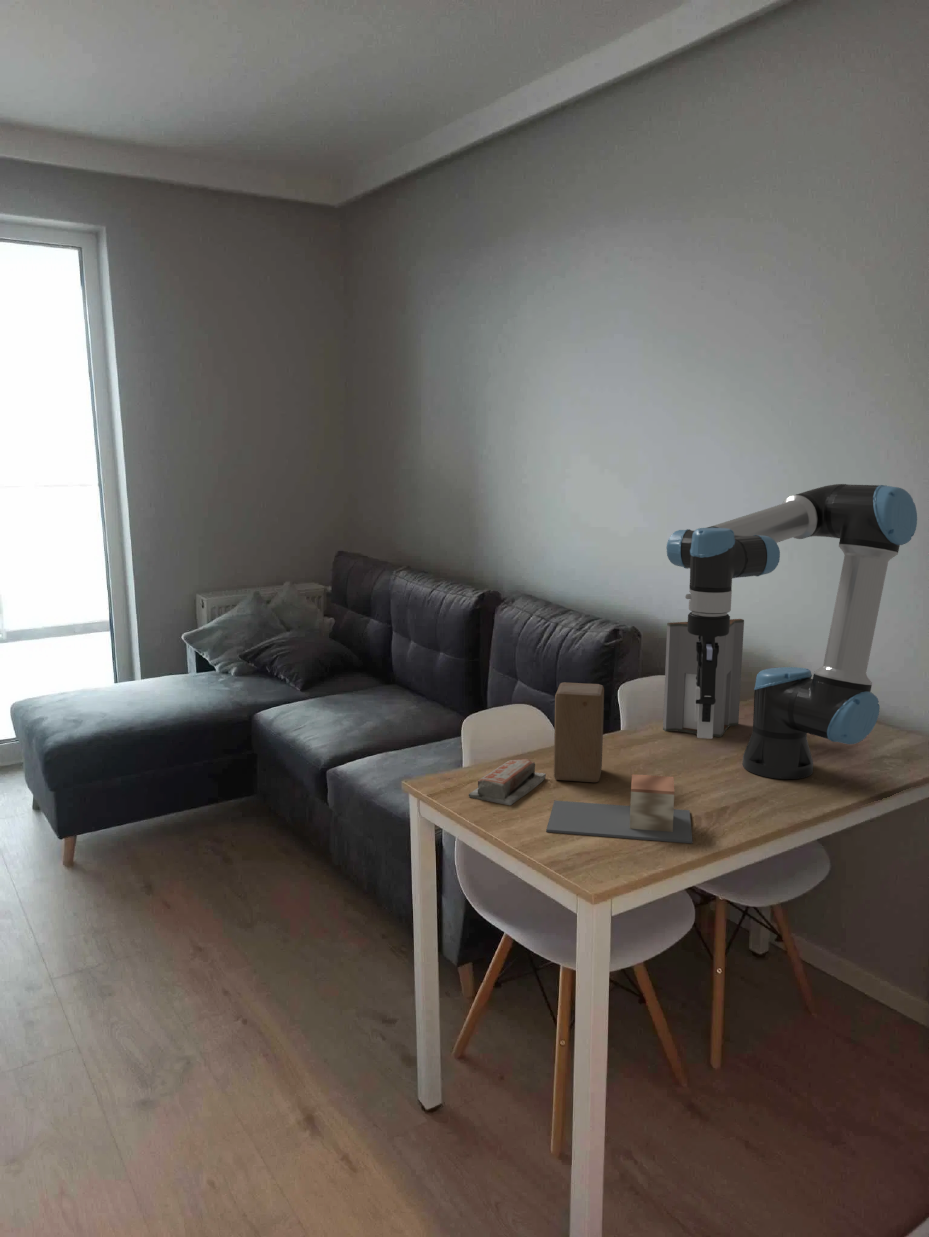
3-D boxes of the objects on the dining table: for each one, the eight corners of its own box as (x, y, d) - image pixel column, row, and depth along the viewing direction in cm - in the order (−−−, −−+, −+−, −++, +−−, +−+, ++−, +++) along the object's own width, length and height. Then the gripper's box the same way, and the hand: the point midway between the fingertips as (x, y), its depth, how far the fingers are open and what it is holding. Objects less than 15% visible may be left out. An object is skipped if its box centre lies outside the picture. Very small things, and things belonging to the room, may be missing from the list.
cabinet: (735, 723, 248) (740, 618, 243) (755, 734, 239) (761, 625, 234) (662, 729, 243) (667, 622, 237) (681, 741, 234) (686, 630, 228)
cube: (671, 815, 186) (673, 776, 184) (672, 831, 178) (674, 791, 176) (630, 812, 187) (631, 774, 186) (629, 828, 179) (631, 788, 178)
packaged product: (511, 785, 191) (468, 777, 196) (511, 808, 192) (468, 799, 197) (546, 759, 207) (505, 752, 211) (546, 780, 208) (505, 773, 212)
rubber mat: (689, 812, 188) (689, 810, 188) (692, 843, 174) (692, 840, 174) (554, 802, 194) (554, 800, 193) (546, 831, 179) (546, 829, 179)
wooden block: (599, 784, 204) (601, 694, 200) (553, 781, 206) (554, 692, 202) (602, 768, 214) (604, 683, 210) (557, 765, 216) (559, 681, 212)
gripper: (686, 601, 185) (681, 711, 189) (690, 623, 163) (684, 746, 167) (725, 603, 183) (719, 713, 187) (735, 625, 162) (728, 749, 166)
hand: (703, 729), depth 177 cm, fingers open, 10 cm apart
